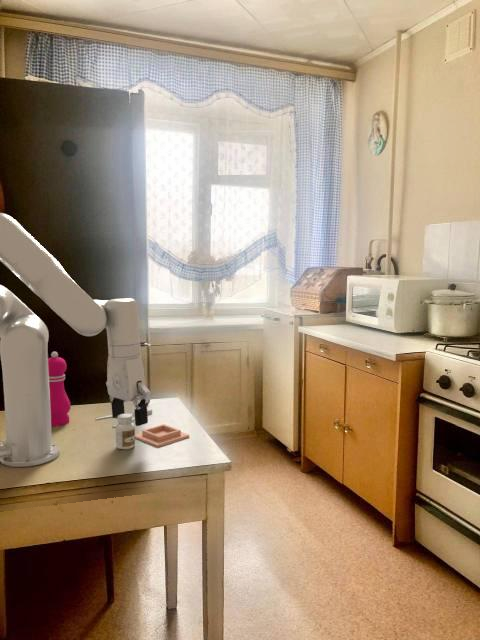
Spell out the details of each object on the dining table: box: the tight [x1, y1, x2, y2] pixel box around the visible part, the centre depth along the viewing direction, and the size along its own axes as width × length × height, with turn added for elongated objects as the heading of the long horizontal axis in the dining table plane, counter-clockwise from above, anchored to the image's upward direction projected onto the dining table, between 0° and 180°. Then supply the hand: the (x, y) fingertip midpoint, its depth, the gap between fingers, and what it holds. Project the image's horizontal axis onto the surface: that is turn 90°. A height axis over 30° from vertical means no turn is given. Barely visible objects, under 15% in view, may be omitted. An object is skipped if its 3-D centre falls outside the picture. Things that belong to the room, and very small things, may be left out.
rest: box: [135, 424, 190, 448], centre depth 131 cm, size 10×10×2 cm
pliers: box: [95, 409, 153, 429], centre depth 147 cm, size 10×2×15 cm
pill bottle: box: [115, 413, 136, 450], centre depth 125 cm, size 4×4×8 cm
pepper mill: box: [48, 351, 72, 427], centre depth 142 cm, size 7×7×20 cm
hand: (129, 420), depth 125 cm, fingers open, 9 cm apart
